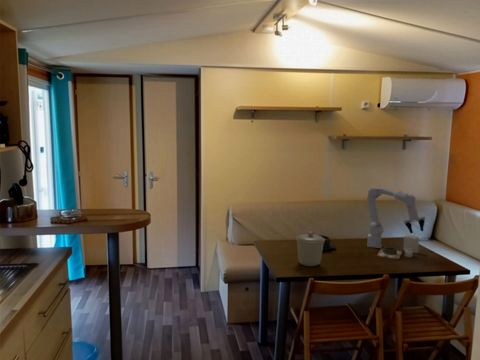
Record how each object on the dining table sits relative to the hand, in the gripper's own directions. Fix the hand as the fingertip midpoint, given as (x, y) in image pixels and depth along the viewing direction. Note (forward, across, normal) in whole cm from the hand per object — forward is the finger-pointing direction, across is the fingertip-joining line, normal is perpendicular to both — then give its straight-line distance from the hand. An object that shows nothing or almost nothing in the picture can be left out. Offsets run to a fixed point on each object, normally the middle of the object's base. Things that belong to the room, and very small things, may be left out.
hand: (416, 232), depth 283 cm
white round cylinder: (+15, -8, +2) cm, 18 cm away
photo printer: (+14, -2, +14) cm, 20 cm away
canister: (+5, -80, -16) cm, 82 cm away
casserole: (0, -65, +18) cm, 68 cm away
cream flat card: (+12, -19, +7) cm, 24 cm away
